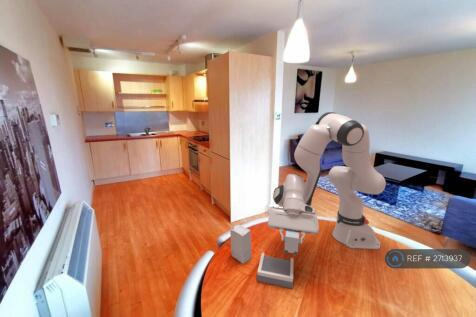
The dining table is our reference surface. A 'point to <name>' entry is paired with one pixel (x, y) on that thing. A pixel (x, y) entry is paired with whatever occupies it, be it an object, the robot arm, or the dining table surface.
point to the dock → (275, 271)
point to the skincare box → (241, 243)
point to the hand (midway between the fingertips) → (291, 242)
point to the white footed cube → (291, 242)
